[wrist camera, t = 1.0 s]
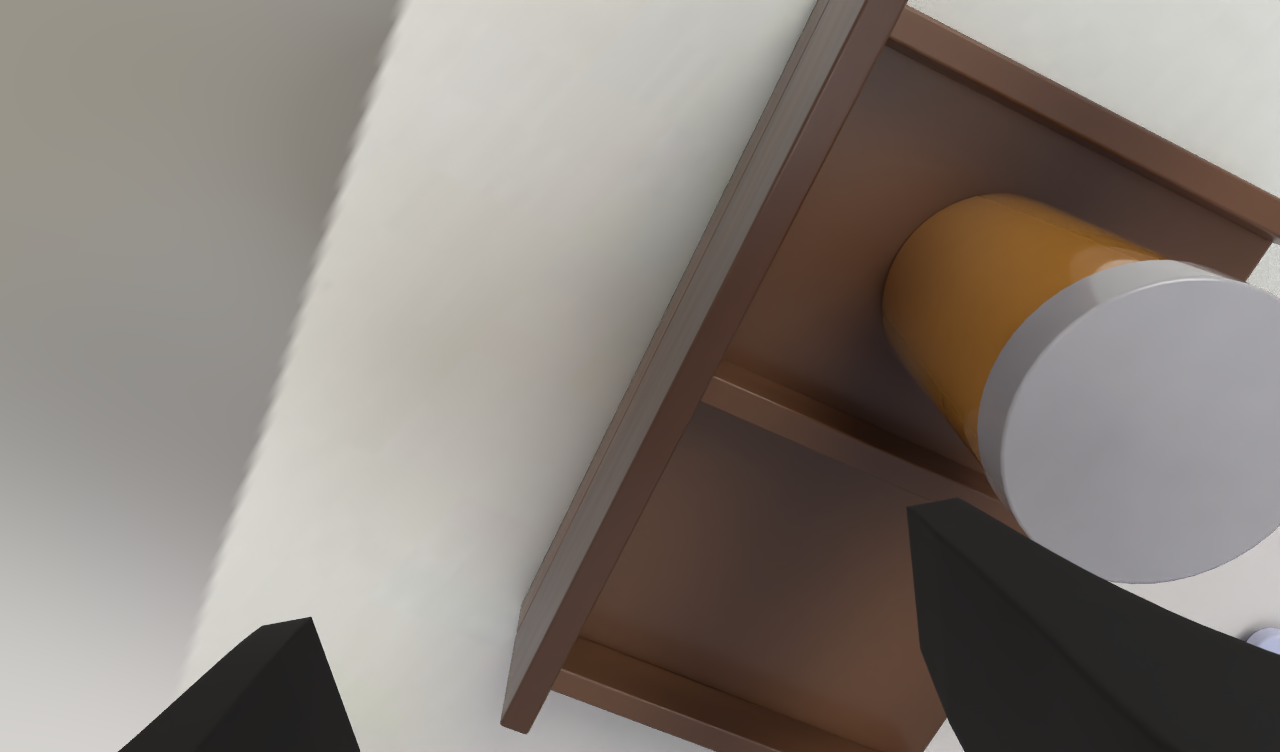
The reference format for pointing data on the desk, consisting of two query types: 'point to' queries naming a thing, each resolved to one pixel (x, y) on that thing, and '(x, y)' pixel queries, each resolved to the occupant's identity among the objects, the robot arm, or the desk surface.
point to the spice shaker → (1096, 384)
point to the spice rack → (824, 396)
